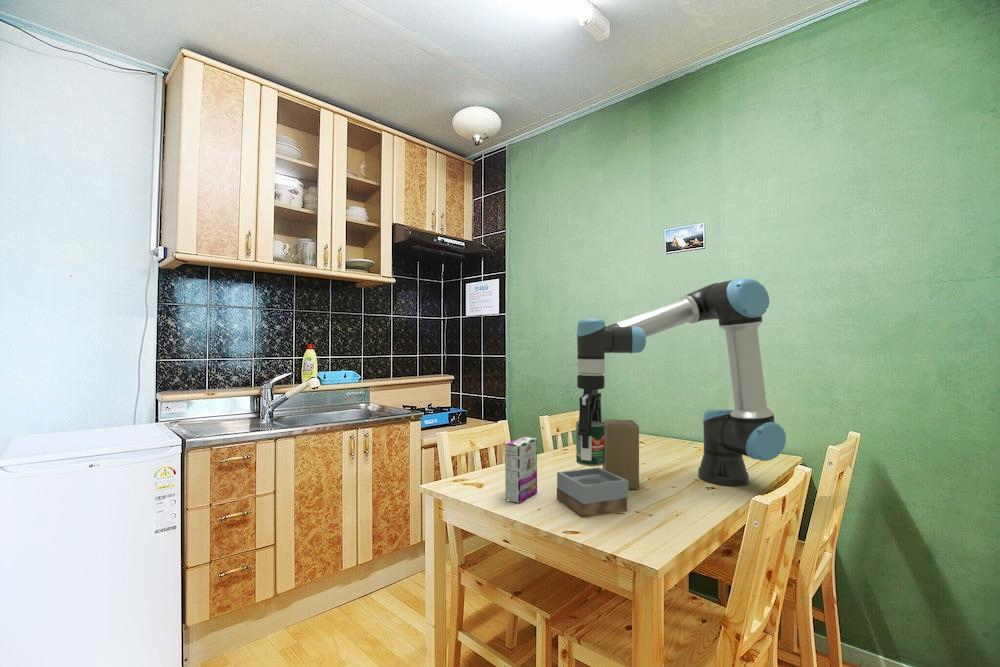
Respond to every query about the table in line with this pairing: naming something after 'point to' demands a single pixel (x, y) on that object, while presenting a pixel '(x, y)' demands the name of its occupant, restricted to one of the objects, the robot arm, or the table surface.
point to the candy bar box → (521, 469)
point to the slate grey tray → (592, 485)
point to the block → (622, 450)
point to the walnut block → (592, 505)
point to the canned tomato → (593, 445)
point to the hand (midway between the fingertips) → (590, 456)
